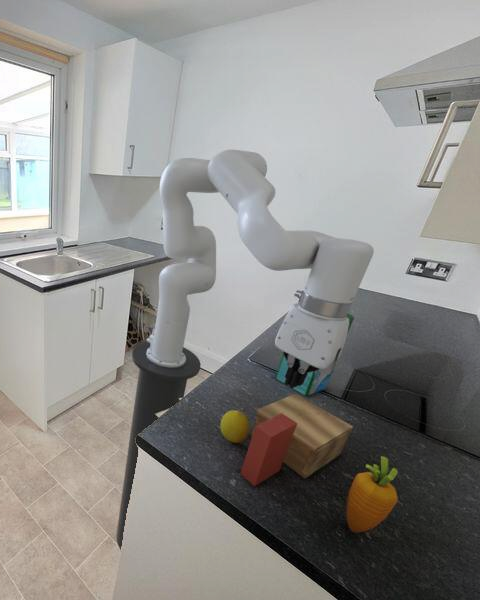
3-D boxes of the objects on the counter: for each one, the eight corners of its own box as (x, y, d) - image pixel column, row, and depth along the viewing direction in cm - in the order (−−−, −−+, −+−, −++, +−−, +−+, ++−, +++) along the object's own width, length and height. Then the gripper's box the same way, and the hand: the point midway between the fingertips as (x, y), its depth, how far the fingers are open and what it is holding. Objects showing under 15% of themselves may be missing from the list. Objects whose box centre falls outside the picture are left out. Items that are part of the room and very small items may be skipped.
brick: (240, 473, 61) (255, 425, 57) (265, 459, 64) (281, 413, 60) (254, 486, 58) (271, 437, 54) (279, 470, 62) (297, 423, 58)
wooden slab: (314, 452, 58) (315, 449, 57) (256, 412, 67) (257, 409, 67) (351, 429, 64) (353, 426, 64) (294, 396, 74) (295, 393, 73)
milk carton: (305, 396, 85) (337, 312, 76) (275, 378, 93) (300, 300, 84) (325, 389, 89) (358, 308, 80) (294, 372, 96) (320, 296, 87)
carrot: (365, 554, 48) (406, 485, 43) (328, 525, 52) (361, 458, 47) (376, 536, 51) (416, 469, 45) (340, 510, 55) (373, 445, 49)
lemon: (233, 430, 72) (242, 402, 69) (250, 449, 67) (259, 420, 64) (212, 432, 71) (219, 404, 68) (226, 452, 66) (235, 422, 63)
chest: (304, 478, 60) (315, 452, 58) (250, 437, 70) (258, 412, 68) (340, 454, 67) (351, 429, 64) (285, 419, 76) (294, 396, 74)
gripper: (273, 293, 63) (249, 369, 70) (361, 325, 51) (321, 412, 58) (294, 289, 66) (269, 362, 73) (381, 318, 54) (341, 401, 61)
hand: (292, 384), depth 66 cm, fingers closed
